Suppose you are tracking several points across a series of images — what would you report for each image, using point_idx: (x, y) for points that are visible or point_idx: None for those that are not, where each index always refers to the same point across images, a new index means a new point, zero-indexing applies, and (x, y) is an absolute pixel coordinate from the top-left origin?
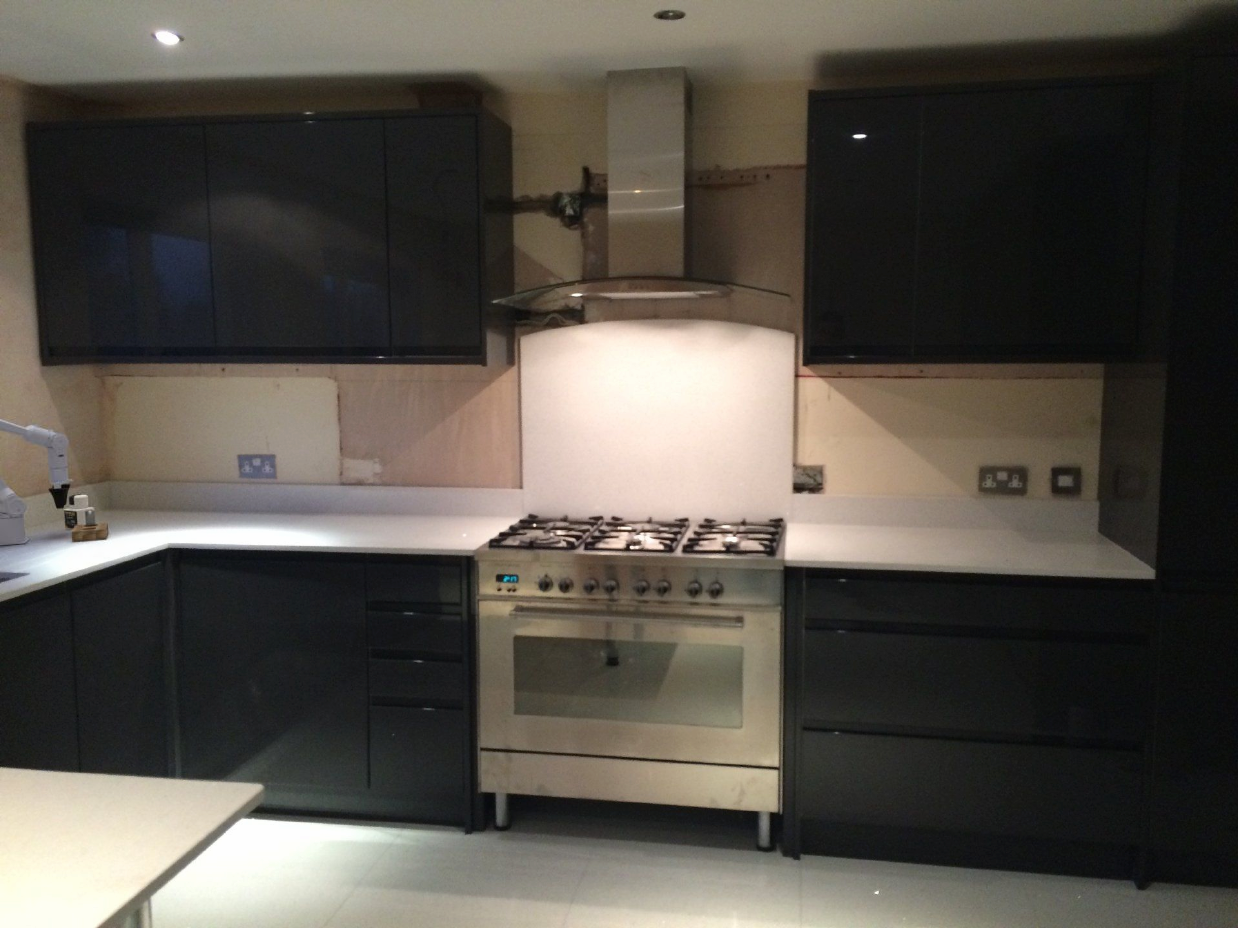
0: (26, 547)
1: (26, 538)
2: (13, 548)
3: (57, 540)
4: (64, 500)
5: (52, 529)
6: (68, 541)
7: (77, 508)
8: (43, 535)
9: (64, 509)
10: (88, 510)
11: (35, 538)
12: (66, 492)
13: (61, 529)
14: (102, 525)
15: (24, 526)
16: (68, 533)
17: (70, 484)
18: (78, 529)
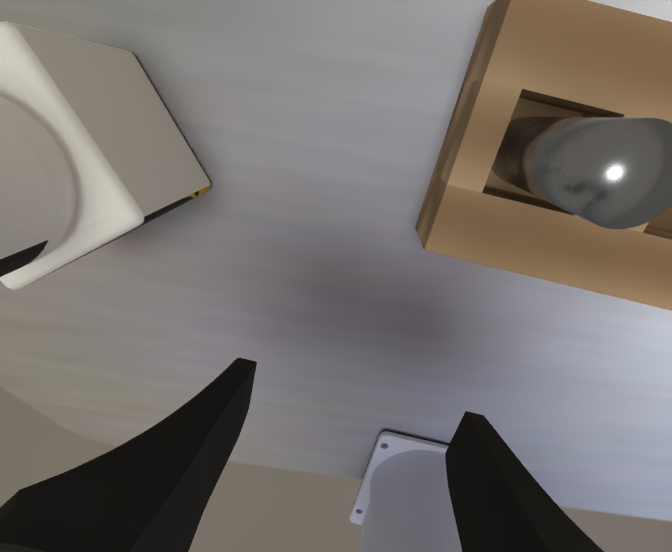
0: (599, 464)
1: (386, 441)
2: (572, 499)
3: (520, 337)
4: (535, 480)
5: (105, 297)
6: (614, 300)
7: (73, 204)
8: (290, 361)
9: (15, 288)
10: (72, 97)
11: (360, 401)
12: (193, 465)
13: (131, 260)
14: (644, 64)
15: (452, 519)
16: (311, 253)
17: (21, 536)
18: (662, 268)
